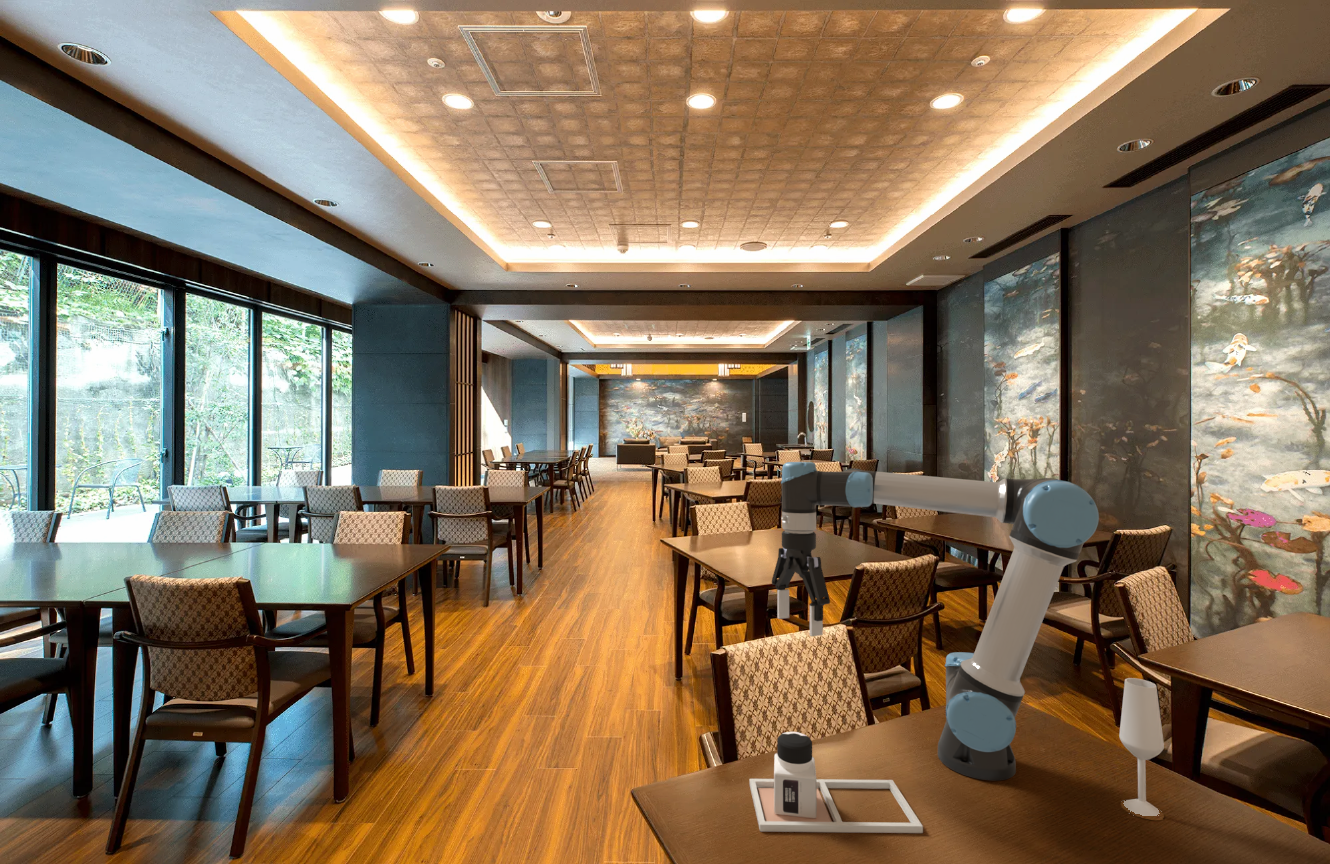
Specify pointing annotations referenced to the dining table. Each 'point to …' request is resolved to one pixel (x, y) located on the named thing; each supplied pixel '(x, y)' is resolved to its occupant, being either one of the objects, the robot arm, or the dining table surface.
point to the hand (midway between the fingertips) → (799, 626)
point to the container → (795, 776)
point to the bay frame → (823, 819)
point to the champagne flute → (1141, 735)
